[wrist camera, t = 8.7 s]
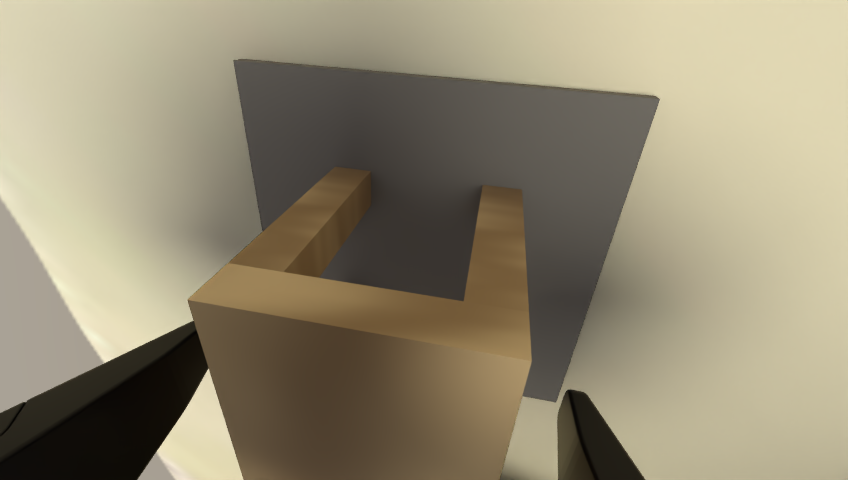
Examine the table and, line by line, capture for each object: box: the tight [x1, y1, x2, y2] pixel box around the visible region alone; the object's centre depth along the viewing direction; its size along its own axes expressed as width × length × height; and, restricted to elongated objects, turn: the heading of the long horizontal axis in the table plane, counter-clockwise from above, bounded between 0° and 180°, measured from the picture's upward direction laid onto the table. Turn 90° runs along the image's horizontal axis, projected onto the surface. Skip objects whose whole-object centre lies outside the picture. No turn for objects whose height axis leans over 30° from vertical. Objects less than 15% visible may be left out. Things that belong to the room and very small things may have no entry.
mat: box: [233, 59, 660, 402], centre depth 14 cm, size 12×12×1 cm
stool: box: [188, 167, 532, 480], centre depth 11 cm, size 6×6×7 cm
